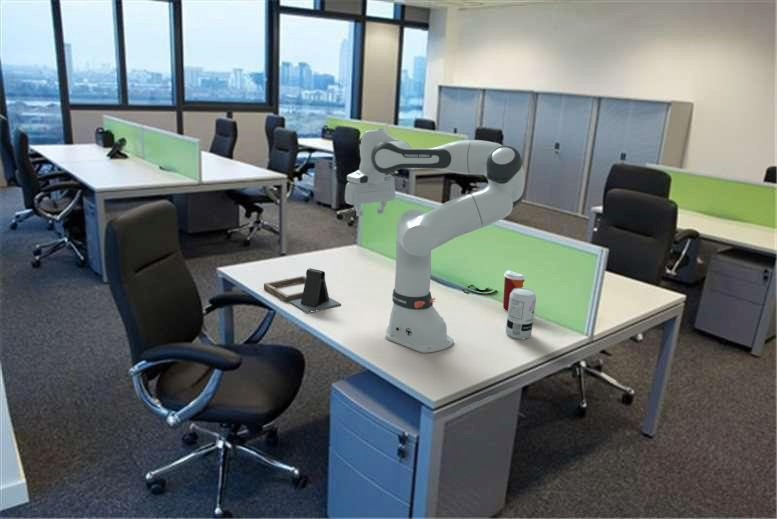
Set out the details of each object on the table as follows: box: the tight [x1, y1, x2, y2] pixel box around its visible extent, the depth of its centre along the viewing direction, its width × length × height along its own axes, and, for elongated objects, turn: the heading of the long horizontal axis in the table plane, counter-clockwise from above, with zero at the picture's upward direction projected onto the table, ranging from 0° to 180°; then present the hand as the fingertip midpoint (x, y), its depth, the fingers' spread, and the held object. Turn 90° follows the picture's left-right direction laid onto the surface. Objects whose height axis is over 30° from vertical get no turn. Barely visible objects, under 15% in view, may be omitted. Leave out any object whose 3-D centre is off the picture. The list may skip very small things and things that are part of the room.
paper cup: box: [502, 269, 526, 312], centre depth 212 cm, size 8×8×14 cm
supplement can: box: [505, 287, 537, 340], centre depth 191 cm, size 8×8×15 cm
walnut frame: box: [263, 275, 306, 303], centre depth 221 cm, size 16×17×2 cm
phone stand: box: [301, 267, 330, 307], centre depth 208 cm, size 9×6×12 cm, turn 151°
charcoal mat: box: [288, 297, 342, 314], centre depth 210 cm, size 12×14×1 cm
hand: (369, 214), depth 210 cm, fingers open, 8 cm apart
